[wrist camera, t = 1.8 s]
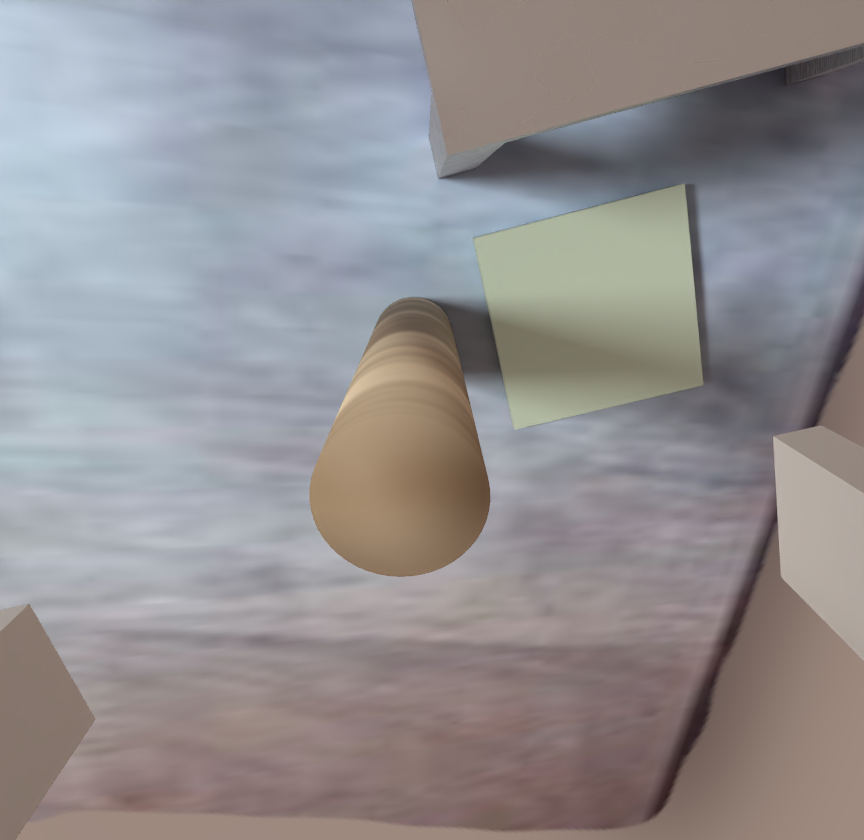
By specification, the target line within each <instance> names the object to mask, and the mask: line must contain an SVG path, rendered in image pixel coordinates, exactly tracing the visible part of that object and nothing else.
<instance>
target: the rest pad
mask: <svg viewBox="0 0 864 840" xmlns="http://www.w3.org/2000/svg"><path fill="white" fill-rule="evenodd" d="M473 242H474V247H475V251H476V256H477V261H478V265H479V270H480V275H481V279H482V284H483V289H484V293H485V298H486V303H487V307H488V312H489V317H490V321H491V326H492V331H493V335H494V340H495V345H496V349H497V354H498V359H499V363H500V368H501V373H502V377H503V382H504V387H505V391H506V396H507V401H508V405H509V410H510V415H511V419H512V424H513V427H514V429H515V430H516V429H520V428H524V427H528V426H533V425H537V424H541V423H545V422H550V421H554V420H558V419H562V418H567V417H571V416H575V415H579V414H584V413H588V412H592V411H596V410H601V409H605V408H609V407H613V406H618V405H622V404H626V403H630V402H635V401H639V400H643V399H647V398H652V397H656V396H660V395H664V394H669V393H673V392H677V391H681V390H686V389H690V388H694V387H699V386H703V375H702V364H701V353H700V342H699V331H698V321H697V310H696V299H695V288H694V277H693V266H692V255H691V245H690V234H689V223H688V212H687V201H686V190H685V184H678V185H674V186H670V187H666V188H662V189H658V190H655V191H651V192H647V193H643V194H639V195H635V196H632V197H628V198H624V199H620V200H616V201H612V202H608V203H605V204H601V205H597V206H593V207H589V208H585V209H582V210H578V211H574V212H570V213H566V214H562V215H558V216H555V217H551V218H547V219H543V220H539V221H535V222H532V223H528V224H524V225H520V226H516V227H512V228H508V229H505V230H501V231H497V232H493V233H489V234H485V235H482V236H478V237H474V238H473Z"/></svg>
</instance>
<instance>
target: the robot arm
mask: <svg viewBox="0 0 864 840" xmlns="http://www.w3.org/2000/svg"><path fill="white" fill-rule="evenodd" d="M773 443H774V461H775V479H776V496H777V514H778V531H779V549H780V567H781V577H782V578H783V579H784V580H785V581H786V582H787V584H789V585H790V586H791V588H792V589H793V590H795V592H796V593H798V595H799V596H800V597H801V598H802V599H803V600H804V601H805V602H806V603H807V604H808V605H809V606H810V607H811V608H812V609H813V610H814V611H815V612H816V613H817V614H818V615H819V616H820V617H821V618H822V619H823V620H824V621H825V622H826V623H827V624H828V625H829V626H830V627H831V628H832V629H833V630H834V631H835V632H836V633H837V634H838V635H839V636H840V637H841V638H842V639H843V640H844V641H845V642H846V643H847V644H848V645H849V646H850V647H851V648H852V649H853V650H854V651H855V652H856V653H857V654H858V656H860V657H861V658H862V659H863V661H864V448H863V447H861V446H860V445H858V444H856V443H854V442H852V441H850V440H848V439H846V438H844V437H842V436H840V435H839V434H837V433H835V432H833V431H831V430H829V429H827V428H825V427H823V426H816V427H812V428H807V429H803V430H799V431H794V432H790V433H785V434H781V435H776V436H773ZM94 720H95V718H94V716H93V714H92V712H91V711H90V709H89V707H88V706H87V704H86V702H85V700H84V699H83V697H82V695H81V693H80V692H79V690H78V688H77V686H76V685H75V683H74V681H73V679H72V678H71V676H70V674H69V672H68V671H67V669H66V667H65V665H64V664H63V662H62V660H61V658H60V657H59V655H58V653H57V651H56V650H55V648H54V646H53V644H52V643H51V641H50V639H49V637H48V636H47V634H46V632H45V630H44V629H43V627H42V625H41V624H40V622H39V620H38V618H37V617H36V615H35V613H34V611H33V610H32V608H31V606H30V604H26V605H21V606H17V607H13V608H8V609H4V610H0V840H15V839H16V838H17V836H18V835H19V833H20V832H21V830H22V829H23V827H24V826H25V824H26V823H27V821H28V820H29V818H30V817H31V815H32V814H33V812H34V811H35V809H36V808H37V806H38V805H39V803H40V802H41V800H42V799H43V797H44V796H45V794H46V793H47V791H48V790H49V788H50V787H51V785H52V784H53V782H54V781H55V779H56V778H57V776H58V775H59V773H60V772H61V770H62V769H63V767H64V766H65V764H66V763H67V761H68V760H69V758H70V757H71V755H72V754H73V752H74V751H75V749H76V748H77V746H78V745H79V743H80V742H81V740H82V739H83V737H84V736H85V734H86V733H87V731H88V729H89V728H90V726H91V725H92V723H93V722H94Z"/></svg>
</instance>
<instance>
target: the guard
mask: <svg viewBox="0 0 864 840" xmlns="http://www.w3.org/2000/svg"><path fill="white" fill-rule="evenodd" d="M411 1H412V6H413V10H414V15H415V20H416V24H417V29H418V33H419V38H420V42H421V47H422V51H423V56H424V60H425V65H426V70H427V74H428V79H429V83H430V88H431V92H432V94H431V110H430V125H429V141H430V145H431V150H432V154H433V159H434V163H435V167H436V172H437V176H438V178H442V177H445V176H449V175H453V174H457V173H460V172H464V171H468V170H472V169H475V168H476V167H478V166H479V165H480V164H481V163H482V162H483V161H484V160H486V159H487V158H488V157H489V156H490V155H491V154H493V153H494V152H495V151H496V150H497V149H498V148H499V147H501V146H502V145H503V144H504V143H506V142H510V141H513V140H517V139H521V138H525V137H528V136H532V135H536V134H539V133H543V132H547V131H550V130H554V129H558V128H562V127H565V126H569V125H573V124H576V123H580V122H584V121H587V120H591V119H595V118H598V117H602V116H606V115H610V114H613V113H617V112H621V111H624V110H628V109H632V108H635V107H639V106H643V105H647V104H650V103H654V102H658V101H661V100H665V99H669V98H672V97H676V96H680V95H683V94H687V93H691V92H695V91H698V90H702V89H706V88H709V87H713V86H717V85H720V84H724V83H728V82H731V81H735V80H739V79H743V78H746V77H750V76H754V75H757V74H761V73H765V72H768V71H772V70H776V69H780V68H783V67H785V68H786V85H788V84H792V83H796V82H799V81H803V80H807V79H810V78H814V77H818V76H822V75H825V74H829V73H831V72H834V71H837V70H840V69H843V68H846V67H849V66H852V65H855V64H858V63H860V62H863V61H864V0H411Z"/></svg>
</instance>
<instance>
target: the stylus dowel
mask: <svg viewBox="0 0 864 840" xmlns="http://www.w3.org/2000/svg"><path fill="white" fill-rule="evenodd" d="M310 506H311V511H312V515H313V518H314V521H315V523H316V526H317V528H318V530H319V532H320V533H321V535H322V536H323V538H324V539H325V541H326V542H327V543H328V544H329V546H330V547H331V548H332V549H333V550H334V551H335V552H336V553H337V554H339V555H340V556H341V557H343V558H344V559H345V560H347V561H348V562H350V563H352V564H354V565H355V566H357V567H359V568H362V569H364V570H366V571H370V572H373V573H376V574H381V575H387V576H398V577H403V576H415V575H421V574H425V573H429V572H432V571H435V570H438V569H440V568H442V567H444V566H446V565H448V564H450V563H452V562H453V561H455V560H456V559H457V558H459V557H460V556H462V555H463V554H464V553H465V552H466V551H467V550H468V549H469V548H470V547H471V546H472V544H473V543H474V542H475V541H476V539H477V538H478V536H479V535H480V533H481V531H482V529H483V527H484V525H485V522H486V520H487V516H488V512H489V506H490V487H489V481H488V476H487V472H486V468H485V464H484V460H483V456H482V451H481V447H480V443H479V439H478V435H477V431H476V426H475V422H474V418H473V414H472V410H471V406H470V402H469V397H468V393H467V389H466V385H465V381H464V377H463V372H462V368H461V364H460V360H459V356H458V352H457V348H456V343H455V339H454V335H453V331H452V327H451V324H450V321H449V319H448V317H447V315H446V314H445V312H444V311H443V310H442V309H441V308H440V307H439V306H438V305H436V304H435V303H433V302H431V301H429V300H427V299H424V298H419V297H408V298H403V299H400V300H398V301H396V302H394V303H392V304H391V305H389V306H388V307H387V308H386V309H385V310H384V311H383V313H382V314H381V316H380V317H379V319H378V321H377V324H376V326H375V328H374V331H373V333H372V335H371V338H370V340H369V342H368V345H367V347H366V349H365V352H364V354H363V356H362V359H361V361H360V363H359V366H358V368H357V370H356V373H355V375H354V377H353V380H352V382H351V384H350V387H349V389H348V391H347V394H346V396H345V398H344V401H343V403H342V405H341V408H340V410H339V412H338V415H337V417H336V419H335V422H334V424H333V426H332V429H331V431H330V433H329V436H328V438H327V440H326V442H325V445H324V447H323V449H322V452H321V454H320V456H319V459H318V461H317V463H316V466H315V468H314V471H313V475H312V478H311V484H310Z"/></svg>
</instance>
